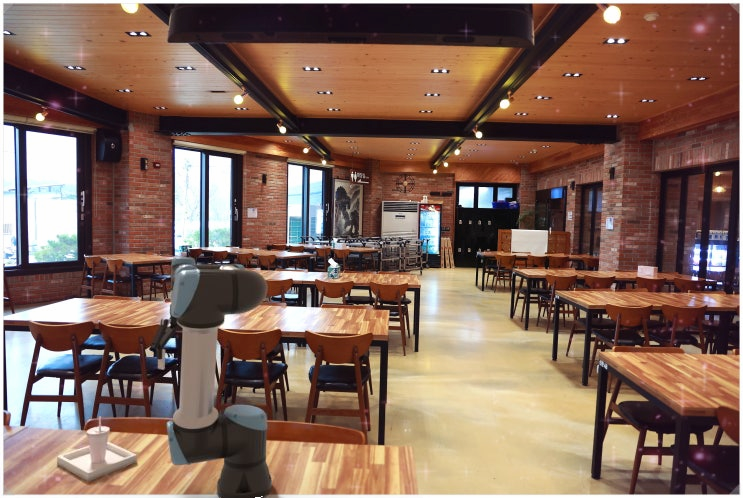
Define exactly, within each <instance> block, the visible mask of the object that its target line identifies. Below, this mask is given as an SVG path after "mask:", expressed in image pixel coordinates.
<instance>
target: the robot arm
mask: <svg viewBox="0 0 743 498" xmlns="http://www.w3.org/2000/svg"><path fill="white" fill-rule="evenodd" d="M170 270H171V271H170V273H171V274H170V301H169V302H170V304H169V316H170V317H169V318H163V317H162V318H161V319H160V322H159V323H160V324H159V326H158V329H157V331H156V333H155V336H153V340H151V341H152V342H151V344H150V348H153V349H155V350H156V351H155V352H156V353H155V358H156V359H157V369H158V370H165V369H166V367H165V365H166V362H165V361H166V349H164V348H165V346H166V345H167V344H168V343H169V341H170V340H171V338H172V337H173V335H174V334H176V333H177V332H181V331H182V339H181V340H182V341H181V363H180V385H179V386H180V388H179V389H180V390H179V406H178V407H179V408H177V409H176V410H175V412H173V416H172V420H171V419H170V420H169V421H167V422H166V431H167V438H168V445H169V447H168V448H169V454H170V455H169V456H170V460H171V463H172V464H173V465H175V466H184V465H187V466H190V465H192V464H197V463H203V462H211V461H215V460H222V459H223V465H222V469H221V472H220V475H219V478H218V480H217V484H216V494H217V496H218V497H219V496H220V497H221V498H255V497H261V496H264V497H266V496H267V495H268V494H269V493H270V492H271V490H272V485H273V484H272V482H273V480H272V476H271V474H270V473H271V472H270V470H269V466H268V462H267V436H268V435H267V433H268V432H267V430H268V422H267V421H268V420H267V417H268V416H267V414H266V413H265V411H264V409H261V408H259V407H257V406H254V405H249V404H233V405H231V406H227V407H226V408H225V410H224V412H223V414H219V411H218V409H217V408H215V406H214V397H215V383H216V382H215V381H216V380H215V379H216V367H217V365H216V364H217V351H218V350H217V349H218V331H219V328H220V327H221V326H222V325H224V323H225V317H226V316H228V315H239V314H244V313H245V314H246V313H247V312H250V311H252V310H254V309H256V308H258V307H259V306H260V305H261V304H262V303H263V302H264V300H265V299H266V297H267V294H268V290H269V289H268V283H267V281H266V279H265V277H264V276H263V275H261V273H259V272H258V271H254V270H250V269H249V270H248V269H246V268H245V266H244V265H243V264H237V263H230V264H228V263H227V264H225V263H224V264H200V263H199V264H196V260H195V258H194V257H181V256H180V257H179V256H178V257H173V258H172V260H171V265H170ZM168 326H169V327H168ZM265 495H266V496H265ZM220 497H219V498H220Z"/></svg>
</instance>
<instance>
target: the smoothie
mask: <svg viewBox="0 0 743 498" xmlns="http://www.w3.org/2000/svg"><path fill="white" fill-rule="evenodd" d="M110 429H111V428H110V427H109V426H104V425H102V415H101V416H98V426H94V427H92V428H89V429H87V430H86V437H87V441H88V446H89V449H90V456H91V462H92V463H101V462H103V461H104V460H105V455H106V448H107V441H108V439H109V434H110V432H111V430H110ZM108 442H109V441H108Z"/></svg>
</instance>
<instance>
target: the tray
mask: <svg viewBox="0 0 743 498" xmlns="http://www.w3.org/2000/svg"><path fill="white" fill-rule="evenodd" d="M137 460H138V455H137V454H136V453H134V452H132V451H129V450H127V449H125V448H123V447H121V446H119V445H116V444H115V443H112V442H110V441H107V448H106V455H105V460H104V461H103V462H101V463H92V462H91V456H90V449H89V445H87V446H84V447H81V448H78V449H75V450H72V451H69V452H66V453H63V454H60V455H57V457H56V465H58V466H60V467H62V468H64V469H65V470H67V471H69V472H70V473H72V474H74V475H76V476H78V477H80V478H82V479H83V480H85V481H87V482H91V481H93V480H95V479H98V478H101V477H103V476H106V475H109V474H110V473H113V472H116V471H118V470H120V469H123V468H126V467H129V466H131V465H134V464H136V463H137V462H138V461H137Z"/></svg>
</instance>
